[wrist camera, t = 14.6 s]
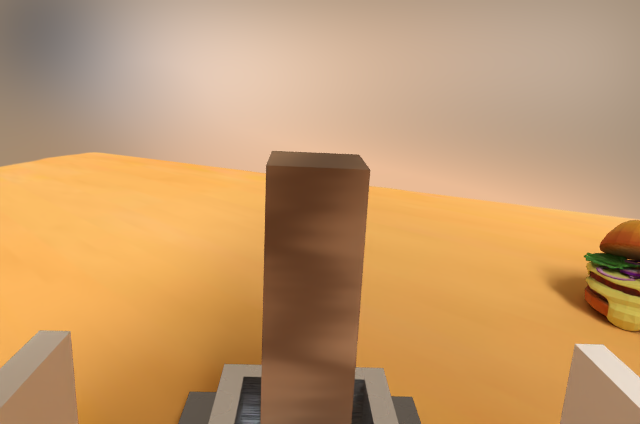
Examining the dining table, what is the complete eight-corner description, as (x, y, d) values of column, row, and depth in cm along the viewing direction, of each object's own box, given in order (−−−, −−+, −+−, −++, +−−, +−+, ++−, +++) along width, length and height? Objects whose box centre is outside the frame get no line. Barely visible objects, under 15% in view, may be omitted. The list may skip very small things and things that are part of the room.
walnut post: (338, 450, 28) (359, 154, 24) (345, 510, 24) (369, 169, 20) (264, 449, 28) (272, 151, 24) (258, 509, 24) (266, 165, 20)
